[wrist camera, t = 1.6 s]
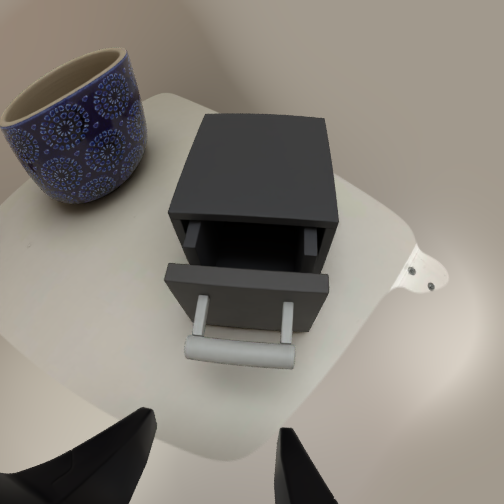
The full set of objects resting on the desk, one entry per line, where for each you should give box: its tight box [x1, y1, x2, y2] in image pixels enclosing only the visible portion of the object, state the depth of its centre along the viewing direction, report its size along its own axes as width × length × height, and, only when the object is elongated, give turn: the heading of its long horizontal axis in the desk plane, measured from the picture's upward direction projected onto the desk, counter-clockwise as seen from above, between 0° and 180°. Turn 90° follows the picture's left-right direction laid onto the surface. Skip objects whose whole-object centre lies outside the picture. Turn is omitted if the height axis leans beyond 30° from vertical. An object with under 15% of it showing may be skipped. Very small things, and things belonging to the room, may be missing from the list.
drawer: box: [164, 220, 329, 369], centre depth 20 cm, size 14×9×8 cm, turn 175°
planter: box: [0, 47, 147, 204], centre depth 28 cm, size 17×16×15 cm
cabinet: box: [168, 114, 339, 274], centre depth 24 cm, size 11×10×9 cm
